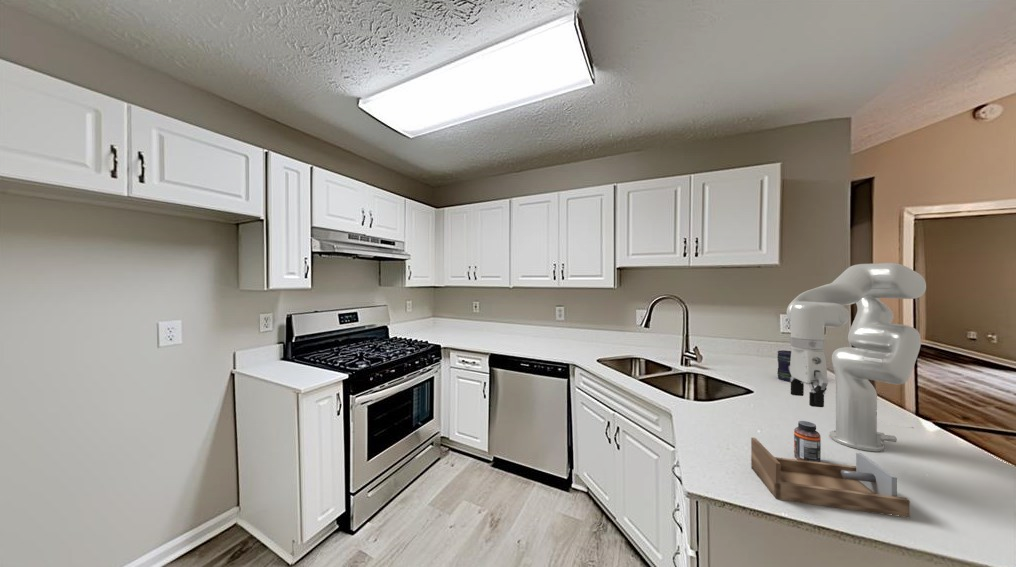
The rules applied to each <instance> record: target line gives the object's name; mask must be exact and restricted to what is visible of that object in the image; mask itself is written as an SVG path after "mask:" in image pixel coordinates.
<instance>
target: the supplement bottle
mask: <svg viewBox="0 0 1016 567" xmlns="http://www.w3.org/2000/svg"><path fill="white" fill-rule="evenodd" d="M797 423H798V424H797V425H798V426H797V427H795V428H794V429H793V430H794V431H793V433H794V434H793V441H794V442H793V446H794V447H793V449H794V450H793V454H794V457H795V459H796V460H805V461H813V462H821V458H822V457H821V455H822V454H821V453H822V452H821V450H822V448H821V447H822V445H821V444H822V443H821V442H822V441H821V434H820V433H819V432H818V431H817V426H816V424H815V423H814V422H810V421H808V420H807V421H806V420H799V421H798V422H797Z"/></svg>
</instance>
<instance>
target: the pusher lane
mask: <svg viewBox="0 0 1016 567" xmlns="http://www.w3.org/2000/svg"><path fill="white" fill-rule="evenodd" d="M750 440H751V443H750V444H751V445H750V447H751V448H750V449H751V450H750V451H751V452H750V453H751V454H750V456H751V457H750V459H751V460H750V461H751V462H750V464H751V466H750V467H751V470H752V471H753V472H754V473H755V474H756V476H757V477H758V478H759V480H761V483H763V484H764V486H765V487H766V489H767V490H768V491H769V492H770V493H771V495H773V497H774V498H775V500H782V501H789V502H790V501H791V502H796V503H803V504H811V505H815V506H824V507H830V508H839V509H845V510H850V511H858V510H859V511H860V512H865V511H866V513H872V512H873V514H879V513H883V514H882V515H886V514H892V515H891V516H893V515H899V516H898V517H900V516H905V517H904V518H907V517H910V516H911V513H910V512H911V511H910V509H911V508H910V505H911V503H910V502H911V501H910V499H908V498H907V497H902V496H897V497H896V496H888V495H880V494H875V493H874V492H872V491H871V490H870V489H869V488H867V487H866V486H865V485H864V484H862V483H861V482H860V481H858V480H850V479H844V478H843V477H842V476H841V470H847V471H855V472H856V466H855V465H846V464H838V463H832V462H831V463H830V462H821V461H820V462H813V461H805V460H798V459H797V458H794V459H793V458H786V457H777V456H774V455H773V454H772V453H771V452H770V451H769V450H768V449H767V448H766V447H765V446H764V445H763V443H761V442H760V441H759V440H758V438H756V437H750ZM910 518H911V517H910Z"/></svg>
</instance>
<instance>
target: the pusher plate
mask: <svg viewBox="0 0 1016 567" xmlns="http://www.w3.org/2000/svg"><path fill="white" fill-rule="evenodd" d="M855 455H856V456H855V465H856V472H855V471H847V470H841V476H842V477H843V478H844V479H850V480H858V481H860V482H861V483H862V484H864V485H865V486H866V487H867V488H869V489H870V490H871V491H872V492H874V493H875V494H880V495H888V496H896V497H898V477H897V476H895V475H894V474H892V473H891V472H890V471H888V470H886V468H883V467H882V466H881V465H879V464H878V463H876V462H875V461H873V460H872V459H870V458H868V457H867V455H865V454H864V453H863V454H862V453H859V452H856V453H855Z"/></svg>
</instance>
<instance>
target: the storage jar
mask: <svg viewBox="0 0 1016 567" xmlns="http://www.w3.org/2000/svg"><path fill="white" fill-rule="evenodd" d="M791 351H792V350H784V349H783V350H777V356H776V357H777V379H778V380H779V381H782V382H787V383H791V381H790V378H791V377H790V375H789V373H790V371H789V366H790V360H791Z"/></svg>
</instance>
